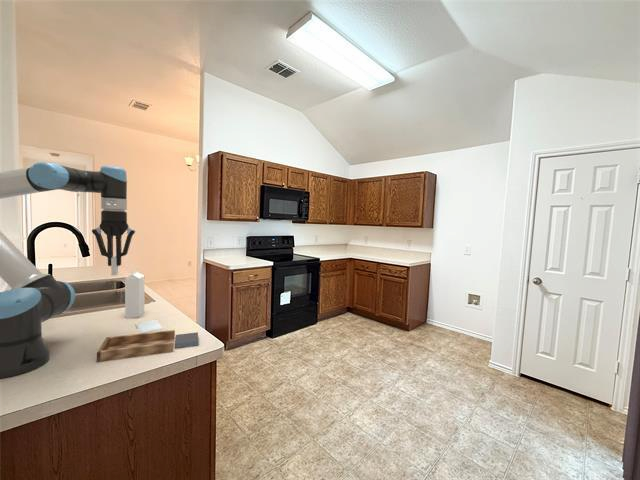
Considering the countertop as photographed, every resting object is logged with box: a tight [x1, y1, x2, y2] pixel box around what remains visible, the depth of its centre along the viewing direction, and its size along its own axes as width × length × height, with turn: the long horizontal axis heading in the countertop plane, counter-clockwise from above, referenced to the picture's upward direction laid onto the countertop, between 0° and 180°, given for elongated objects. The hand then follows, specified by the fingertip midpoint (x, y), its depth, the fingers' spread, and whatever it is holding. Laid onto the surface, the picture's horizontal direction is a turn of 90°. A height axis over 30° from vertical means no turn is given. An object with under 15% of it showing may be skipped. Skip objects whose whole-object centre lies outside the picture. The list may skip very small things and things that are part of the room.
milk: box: [124, 269, 145, 319], centre depth 133 cm, size 6×6×22 cm
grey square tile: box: [174, 331, 200, 350], centre depth 108 cm, size 8×8×2 cm
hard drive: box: [135, 319, 165, 334], centre depth 121 cm, size 2×8×12 cm
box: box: [96, 329, 176, 363], centre depth 101 cm, size 22×12×4 cm, turn 115°
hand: (114, 274), depth 103 cm, fingers closed
